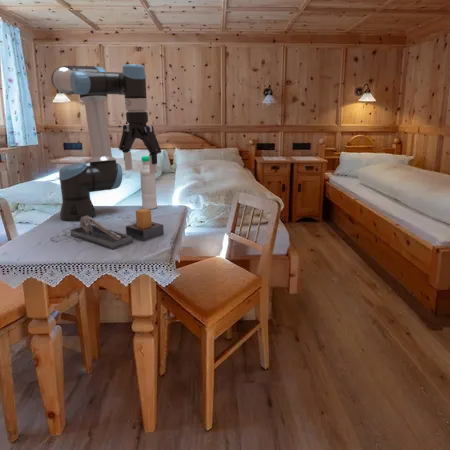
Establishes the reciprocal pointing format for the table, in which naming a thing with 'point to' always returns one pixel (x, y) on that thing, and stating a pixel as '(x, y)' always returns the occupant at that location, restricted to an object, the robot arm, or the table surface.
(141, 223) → the tan rectangular block
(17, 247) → the table surface
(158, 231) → the socket
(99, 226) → the bracket
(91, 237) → the tray
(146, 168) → the water bottle
